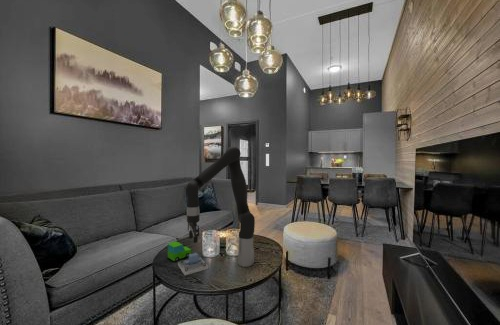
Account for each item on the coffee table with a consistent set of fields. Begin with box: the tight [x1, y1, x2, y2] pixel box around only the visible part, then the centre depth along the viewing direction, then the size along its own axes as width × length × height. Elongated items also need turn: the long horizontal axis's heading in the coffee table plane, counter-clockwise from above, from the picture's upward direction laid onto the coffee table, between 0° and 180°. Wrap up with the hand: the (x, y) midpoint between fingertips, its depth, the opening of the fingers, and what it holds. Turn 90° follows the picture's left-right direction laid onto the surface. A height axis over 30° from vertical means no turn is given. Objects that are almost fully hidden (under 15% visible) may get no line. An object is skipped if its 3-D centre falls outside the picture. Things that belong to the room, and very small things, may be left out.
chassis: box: [177, 255, 209, 276], centre depth 131 cm, size 14×14×3 cm
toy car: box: [167, 241, 192, 263], centre depth 143 cm, size 10×13×10 cm
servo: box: [185, 252, 203, 265], centre depth 131 cm, size 10×4×6 cm, turn 123°
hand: (193, 240), depth 131 cm, fingers open, 8 cm apart
